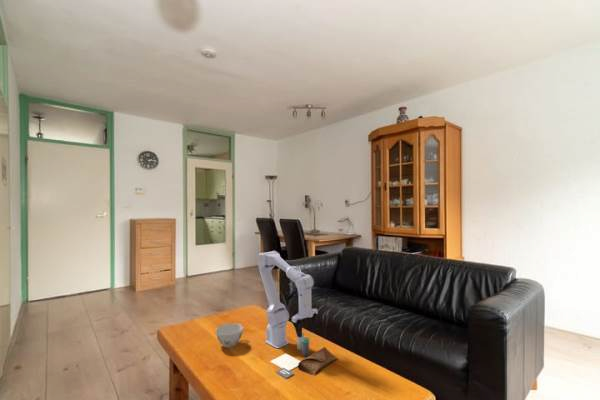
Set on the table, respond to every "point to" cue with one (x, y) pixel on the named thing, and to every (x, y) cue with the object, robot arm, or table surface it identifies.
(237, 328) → the teacup
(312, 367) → the sunglasses case
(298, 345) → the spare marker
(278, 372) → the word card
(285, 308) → the robot arm
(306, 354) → the marker
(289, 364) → the paper
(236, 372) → the table surface
